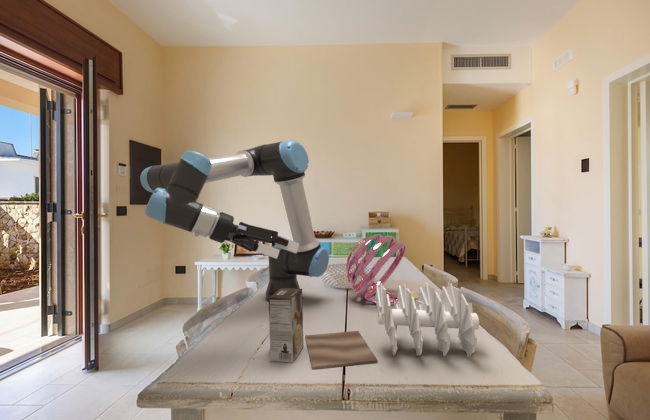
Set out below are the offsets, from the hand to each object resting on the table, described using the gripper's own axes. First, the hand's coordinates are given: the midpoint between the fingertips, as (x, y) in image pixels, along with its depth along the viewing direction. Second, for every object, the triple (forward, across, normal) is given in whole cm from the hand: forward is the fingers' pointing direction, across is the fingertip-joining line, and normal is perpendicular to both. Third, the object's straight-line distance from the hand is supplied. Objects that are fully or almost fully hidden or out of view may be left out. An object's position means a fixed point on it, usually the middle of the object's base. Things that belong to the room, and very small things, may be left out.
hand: (287, 251), depth 86 cm
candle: (+48, +3, -8) cm, 48 cm away
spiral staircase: (+38, +19, -17) cm, 46 cm away
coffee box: (+8, 0, -26) cm, 27 cm away
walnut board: (+20, +5, -21) cm, 30 cm away
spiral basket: (+52, -22, 0) cm, 56 cm away
